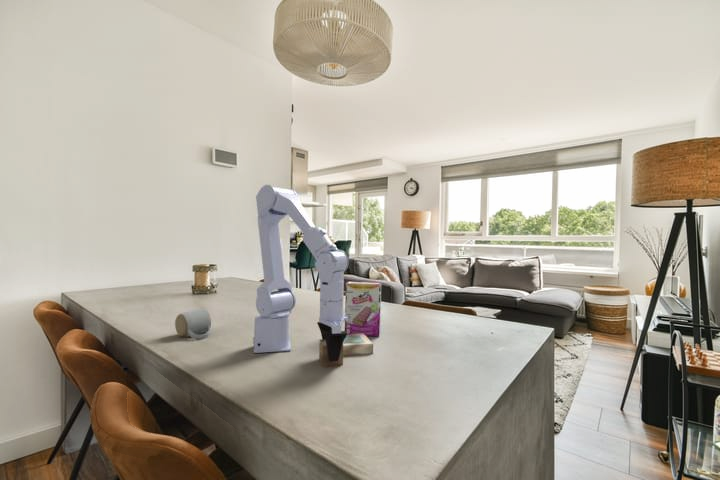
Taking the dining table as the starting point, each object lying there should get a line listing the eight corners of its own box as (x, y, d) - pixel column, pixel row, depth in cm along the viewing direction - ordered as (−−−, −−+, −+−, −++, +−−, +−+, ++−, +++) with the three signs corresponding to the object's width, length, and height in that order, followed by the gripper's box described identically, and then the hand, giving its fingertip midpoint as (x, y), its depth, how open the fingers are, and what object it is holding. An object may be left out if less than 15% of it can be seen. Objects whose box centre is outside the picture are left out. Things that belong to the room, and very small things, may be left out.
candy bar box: (344, 335, 105) (345, 283, 105) (346, 331, 110) (347, 281, 110) (380, 337, 104) (380, 284, 104) (380, 332, 109) (381, 282, 109)
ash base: (335, 355, 87) (336, 345, 87) (329, 344, 97) (329, 335, 97) (373, 353, 89) (373, 343, 89) (363, 342, 99) (363, 333, 99)
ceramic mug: (173, 335, 103) (173, 310, 103) (199, 329, 110) (199, 306, 110) (190, 342, 97) (191, 315, 97) (217, 336, 103) (217, 311, 103)
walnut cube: (322, 367, 79) (322, 345, 79) (319, 359, 84) (319, 339, 84) (342, 365, 81) (343, 344, 81) (338, 358, 86) (339, 338, 86)
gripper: (354, 304, 77) (353, 364, 76) (341, 294, 91) (341, 345, 91) (323, 305, 75) (322, 367, 75) (315, 295, 89) (314, 347, 89)
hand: (330, 355), depth 83 cm, fingers open, 7 cm apart
